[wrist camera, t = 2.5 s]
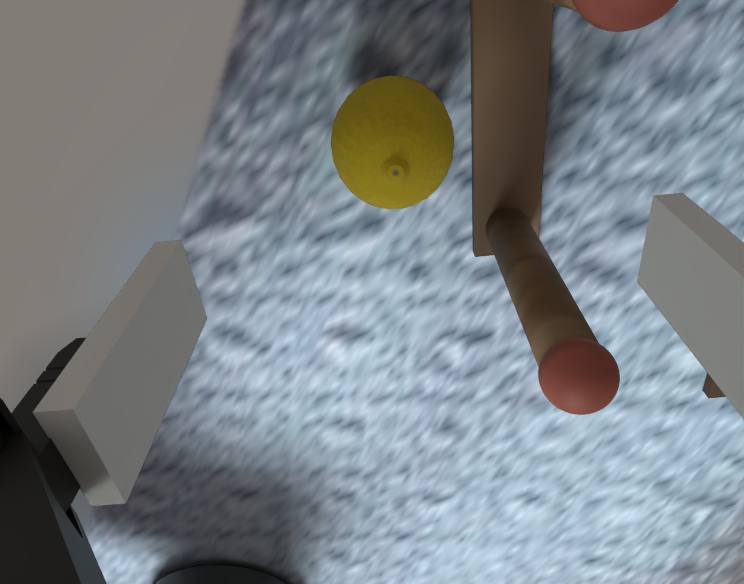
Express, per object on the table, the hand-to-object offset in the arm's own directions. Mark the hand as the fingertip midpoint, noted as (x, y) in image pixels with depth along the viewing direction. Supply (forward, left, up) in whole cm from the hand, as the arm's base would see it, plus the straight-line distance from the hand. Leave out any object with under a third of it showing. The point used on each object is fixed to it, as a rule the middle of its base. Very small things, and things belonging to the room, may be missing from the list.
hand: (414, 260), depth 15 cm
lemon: (0, 0, -15) cm, 15 cm away
